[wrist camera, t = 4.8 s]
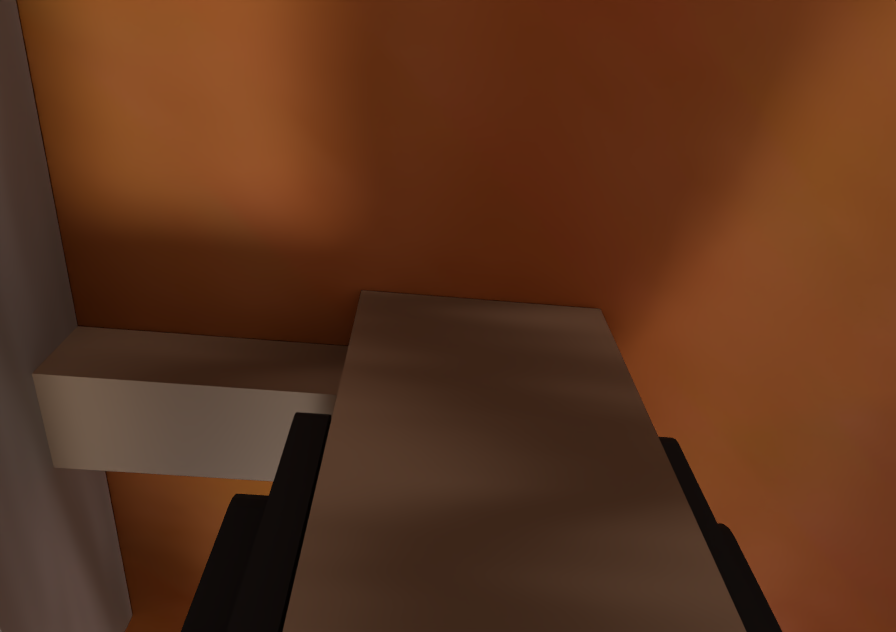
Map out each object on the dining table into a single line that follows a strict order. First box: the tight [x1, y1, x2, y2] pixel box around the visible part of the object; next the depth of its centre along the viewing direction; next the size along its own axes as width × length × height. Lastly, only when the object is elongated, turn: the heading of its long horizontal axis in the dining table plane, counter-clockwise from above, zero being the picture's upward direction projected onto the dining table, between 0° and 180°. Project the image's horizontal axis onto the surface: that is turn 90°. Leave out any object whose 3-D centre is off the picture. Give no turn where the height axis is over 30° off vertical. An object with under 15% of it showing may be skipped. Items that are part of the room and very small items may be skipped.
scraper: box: [0, 0, 746, 632], centre depth 9 cm, size 11×14×10 cm
